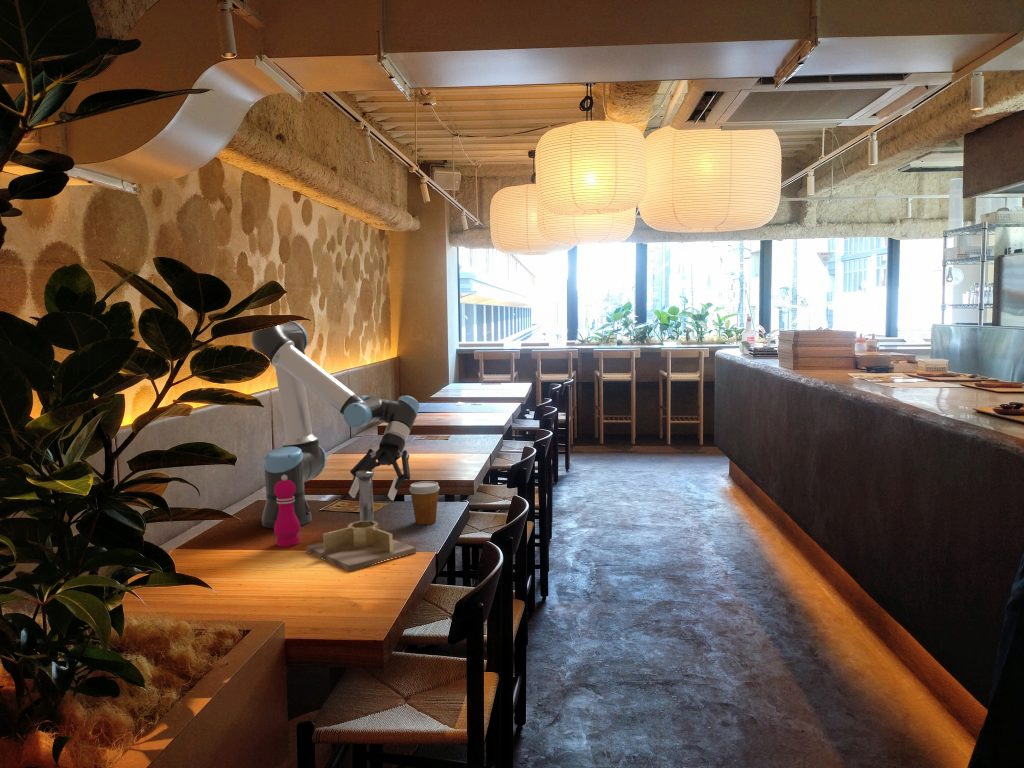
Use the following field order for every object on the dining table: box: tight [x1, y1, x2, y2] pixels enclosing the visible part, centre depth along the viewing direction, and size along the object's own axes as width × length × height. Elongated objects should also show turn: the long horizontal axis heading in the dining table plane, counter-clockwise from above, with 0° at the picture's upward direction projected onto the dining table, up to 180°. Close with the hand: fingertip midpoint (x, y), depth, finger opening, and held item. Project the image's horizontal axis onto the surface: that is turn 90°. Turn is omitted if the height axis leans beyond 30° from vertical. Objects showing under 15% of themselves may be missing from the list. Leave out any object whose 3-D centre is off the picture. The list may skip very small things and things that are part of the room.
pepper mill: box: [273, 475, 301, 548], centre depth 204 cm, size 7×7×20 cm
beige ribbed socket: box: [322, 520, 394, 553], centre depth 192 cm, size 18×16×5 cm
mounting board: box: [305, 539, 417, 572], centre depth 195 cm, size 24×20×2 cm
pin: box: [356, 470, 375, 521], centre depth 214 cm, size 5×5×18 cm
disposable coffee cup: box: [409, 481, 441, 526], centre depth 223 cm, size 10×10×12 cm
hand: (370, 497), depth 214 cm, fingers open, 13 cm apart
